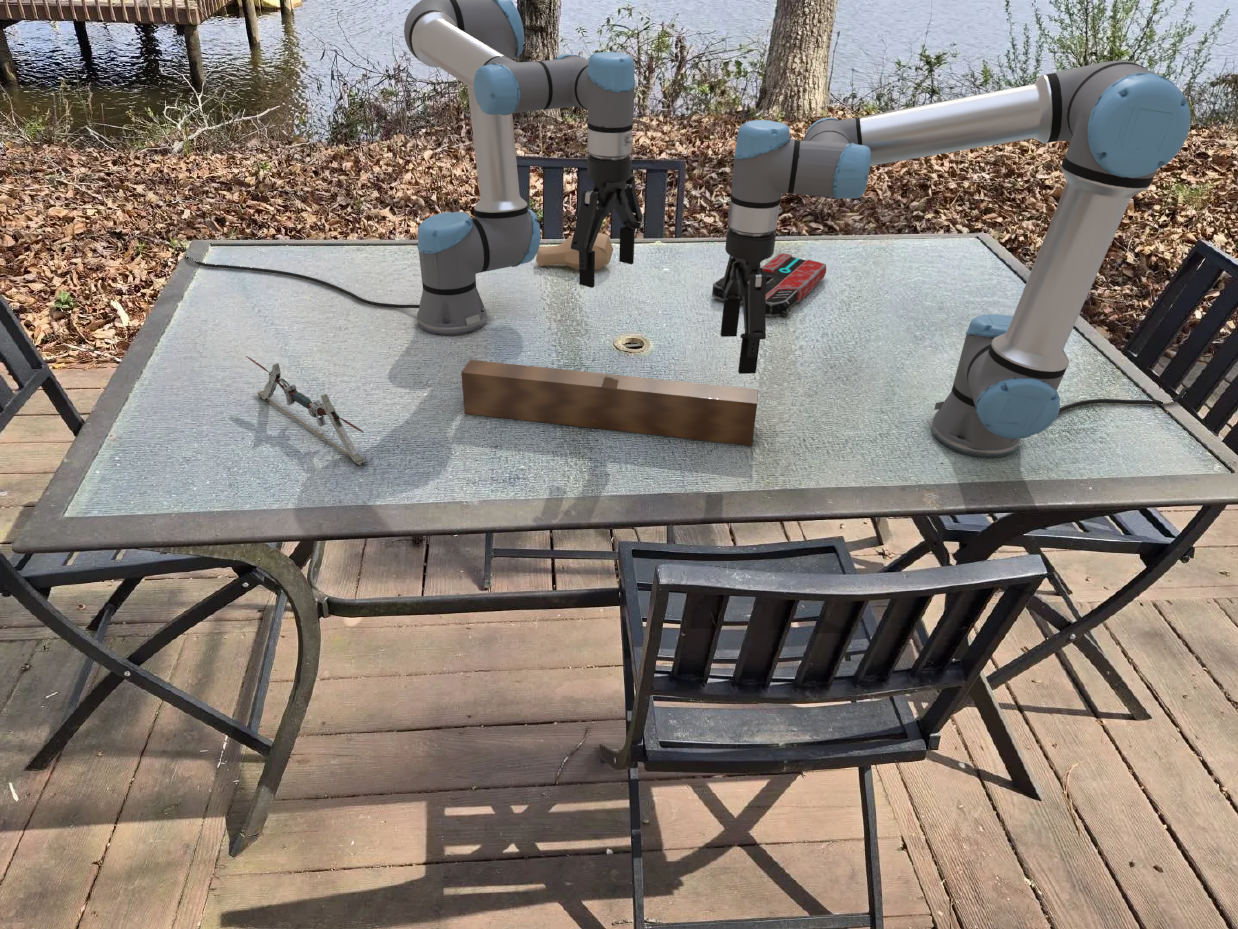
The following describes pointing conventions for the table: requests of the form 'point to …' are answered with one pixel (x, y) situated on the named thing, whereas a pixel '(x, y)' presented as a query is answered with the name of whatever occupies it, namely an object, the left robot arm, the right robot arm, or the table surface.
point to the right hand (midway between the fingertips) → (737, 353)
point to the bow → (311, 409)
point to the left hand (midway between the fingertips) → (607, 273)
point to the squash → (575, 253)
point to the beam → (610, 402)
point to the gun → (784, 282)
